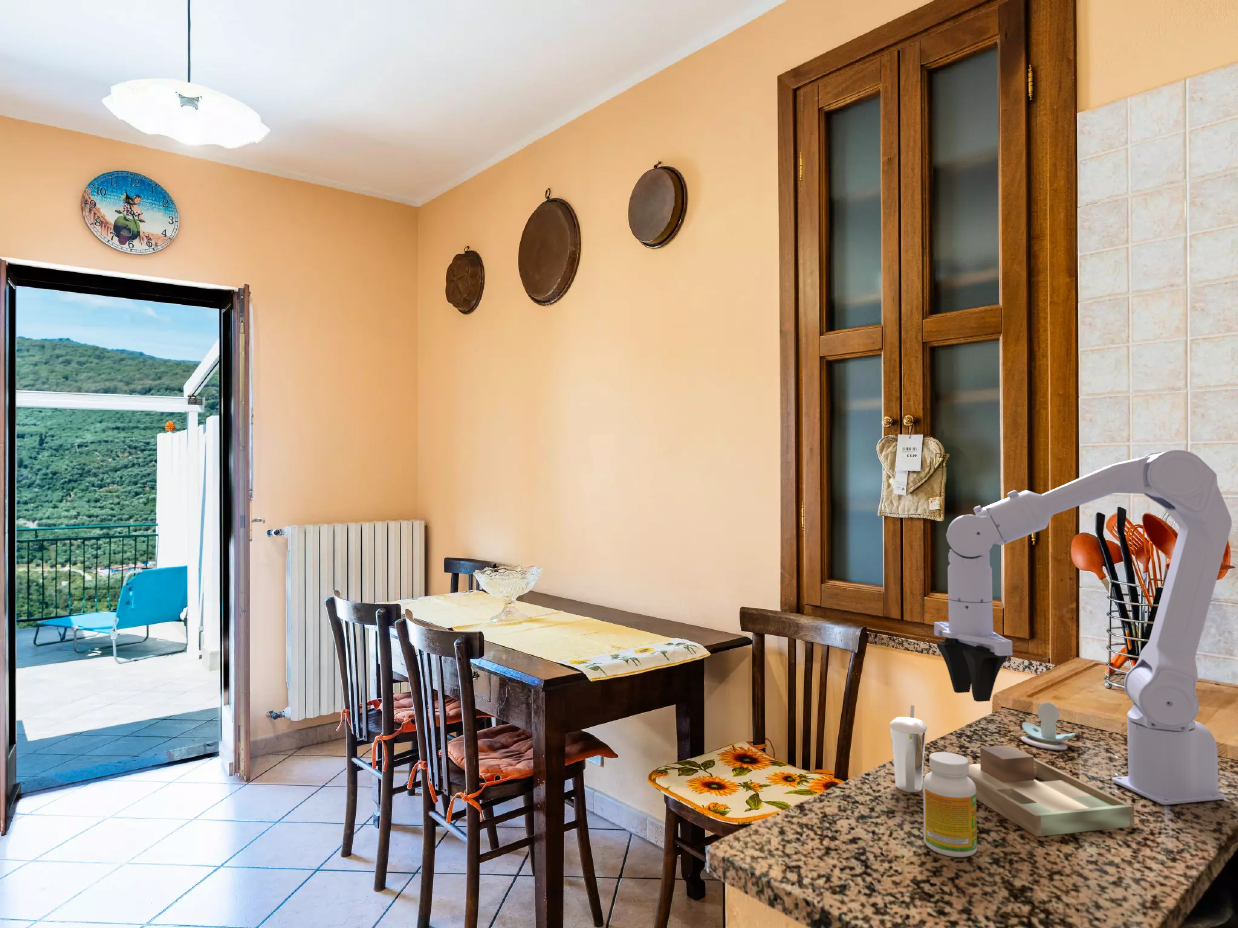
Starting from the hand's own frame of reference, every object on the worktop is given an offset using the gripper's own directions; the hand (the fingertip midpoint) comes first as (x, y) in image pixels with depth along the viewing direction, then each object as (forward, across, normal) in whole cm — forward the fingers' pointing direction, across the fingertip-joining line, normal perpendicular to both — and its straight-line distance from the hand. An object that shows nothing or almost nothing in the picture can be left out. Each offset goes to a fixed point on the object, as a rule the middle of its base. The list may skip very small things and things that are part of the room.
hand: (971, 696), depth 108 cm
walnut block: (+8, +7, 0) cm, 11 cm away
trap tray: (+10, +12, 0) cm, 15 cm away
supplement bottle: (+10, +20, -18) cm, 29 cm away
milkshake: (+10, +4, -13) cm, 17 cm away
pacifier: (+10, -6, +17) cm, 21 cm away
